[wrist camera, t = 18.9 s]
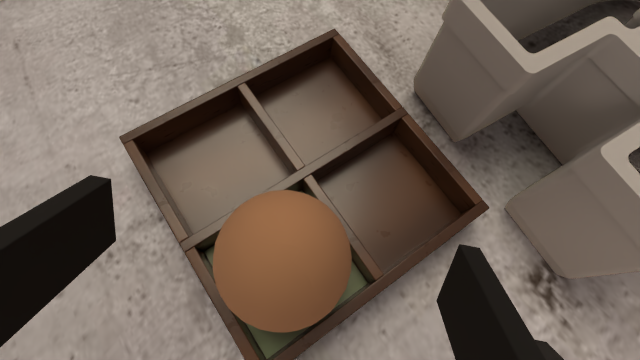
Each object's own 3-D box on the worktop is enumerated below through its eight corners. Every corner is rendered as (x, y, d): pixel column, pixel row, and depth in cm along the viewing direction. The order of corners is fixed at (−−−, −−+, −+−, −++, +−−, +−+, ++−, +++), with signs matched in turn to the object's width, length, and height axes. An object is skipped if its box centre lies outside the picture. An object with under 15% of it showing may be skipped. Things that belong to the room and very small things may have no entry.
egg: (314, 199, 22) (325, 138, 14) (359, 298, 20) (399, 290, 12) (214, 239, 21) (166, 196, 13) (252, 349, 19) (222, 376, 11)
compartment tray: (136, 154, 23) (118, 136, 21) (330, 53, 27) (334, 27, 25) (263, 376, 19) (259, 385, 17) (469, 218, 23) (490, 207, 21)
